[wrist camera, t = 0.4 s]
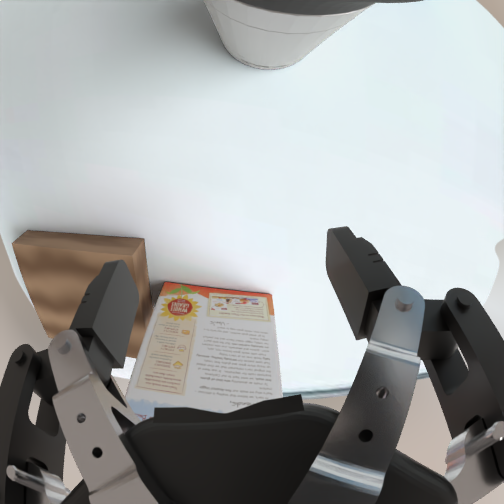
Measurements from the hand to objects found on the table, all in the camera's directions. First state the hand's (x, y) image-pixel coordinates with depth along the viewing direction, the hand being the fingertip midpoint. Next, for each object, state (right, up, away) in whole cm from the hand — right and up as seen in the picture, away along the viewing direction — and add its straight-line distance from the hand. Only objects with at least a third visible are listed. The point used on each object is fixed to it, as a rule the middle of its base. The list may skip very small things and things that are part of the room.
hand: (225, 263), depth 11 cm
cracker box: (-4, -6, +26) cm, 27 cm away
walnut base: (-23, -5, +25) cm, 34 cm away
